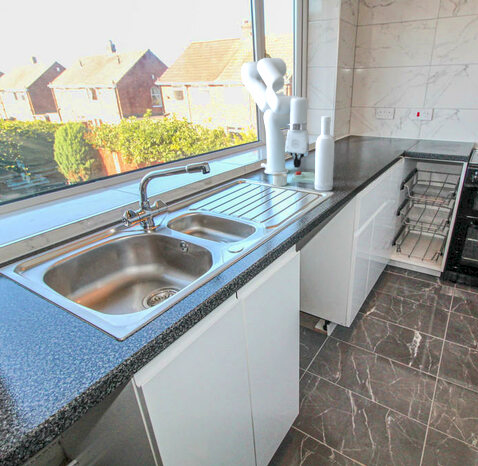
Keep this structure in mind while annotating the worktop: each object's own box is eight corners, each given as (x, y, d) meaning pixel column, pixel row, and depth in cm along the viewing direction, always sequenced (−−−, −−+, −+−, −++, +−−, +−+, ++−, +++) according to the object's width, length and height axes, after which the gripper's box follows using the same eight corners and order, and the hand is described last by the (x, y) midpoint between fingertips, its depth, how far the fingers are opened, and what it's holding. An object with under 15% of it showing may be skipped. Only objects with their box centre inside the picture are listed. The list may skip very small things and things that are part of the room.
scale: (290, 181, 156) (290, 175, 155) (301, 174, 168) (301, 169, 167) (324, 185, 150) (324, 178, 149) (333, 177, 161) (333, 171, 160)
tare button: (294, 175, 156) (294, 172, 155) (296, 174, 158) (296, 171, 157) (299, 175, 155) (299, 172, 154) (301, 174, 157) (302, 171, 156)
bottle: (335, 190, 141) (339, 116, 129) (317, 191, 140) (320, 117, 128) (328, 185, 149) (331, 115, 136) (312, 186, 147) (313, 115, 135)
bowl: (270, 185, 150) (270, 175, 148) (276, 182, 155) (276, 172, 153) (283, 187, 147) (283, 177, 145) (289, 183, 153) (289, 173, 151)
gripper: (279, 126, 147) (279, 167, 155) (311, 129, 142) (309, 170, 150) (286, 124, 154) (286, 163, 162) (316, 127, 148) (314, 167, 156)
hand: (297, 167), depth 156 cm, fingers closed
